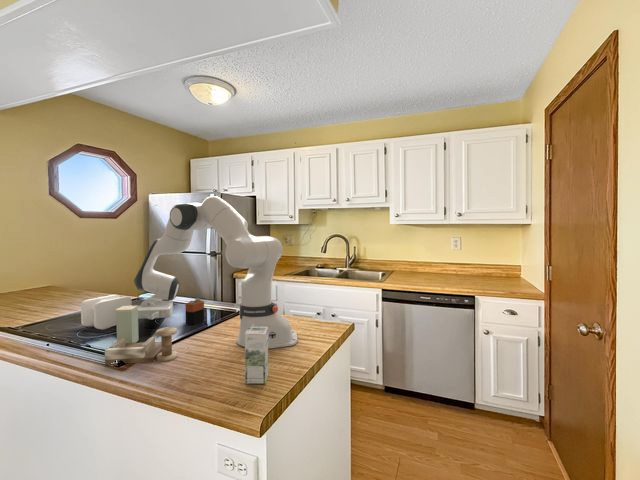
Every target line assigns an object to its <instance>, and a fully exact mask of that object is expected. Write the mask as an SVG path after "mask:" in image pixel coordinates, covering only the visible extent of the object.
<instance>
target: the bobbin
mask: <svg viewBox="0 0 640 480" xmlns="http://www.w3.org/2000/svg"><path fill="white" fill-rule="evenodd" d="M177 332H178V330H177V327H173V326H167V327H162V328H159V329H157V330H156V331H155V336H156V337H160V338H161V341H160V342H161V344H162V352H161V353H159V354H157V359H156V361H157V362H170V361H172V360H174V359H176V358H177V357H178V352H177V350H174V349H173V342H172V341H173V339H172V336H174V335H176V334H177Z"/></svg>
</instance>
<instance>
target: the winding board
mask: <svg viewBox="0 0 640 480" xmlns="http://www.w3.org/2000/svg"><path fill="white" fill-rule="evenodd" d="M161 352H162V344H161V341H156V337H153V336H151V337H149V338H148V339H147V340H145V341H144V342H143V341H142V342H136V343H125V338H124V339H119V340H118V341H117V340H116V341H115V342H114V343H113V344H111V345H110V346H109V347H108V348H106V349H105V350H104V363H105V366H106V365H112V364H111V363H113V362H115V361H116V360H122V361H123V362H124V363H125V364H139V363H140V364H141V363H142V364H143V363H154V362H155V361H157V354H159V353H161Z"/></svg>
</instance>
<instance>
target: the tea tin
mask: <svg viewBox="0 0 640 480" xmlns="http://www.w3.org/2000/svg"><path fill="white" fill-rule="evenodd" d="M138 306H139V305H132V306H122V307H120V308H118V309H116V325H115V326H116V342H117V341H118V340H119V339H124V338H125V343H138V341H139V319H138Z"/></svg>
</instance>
